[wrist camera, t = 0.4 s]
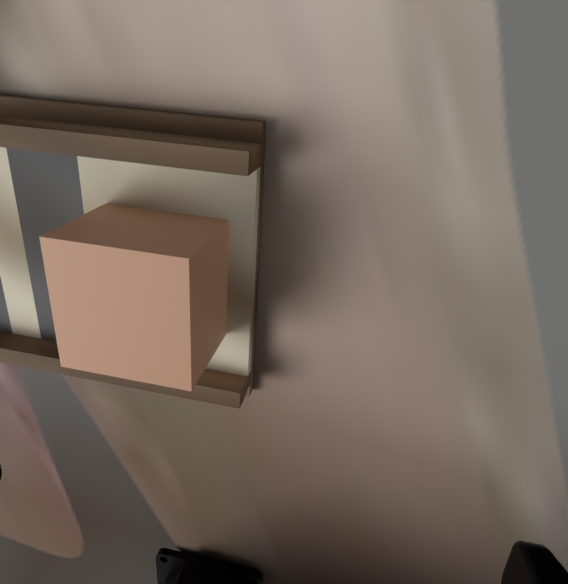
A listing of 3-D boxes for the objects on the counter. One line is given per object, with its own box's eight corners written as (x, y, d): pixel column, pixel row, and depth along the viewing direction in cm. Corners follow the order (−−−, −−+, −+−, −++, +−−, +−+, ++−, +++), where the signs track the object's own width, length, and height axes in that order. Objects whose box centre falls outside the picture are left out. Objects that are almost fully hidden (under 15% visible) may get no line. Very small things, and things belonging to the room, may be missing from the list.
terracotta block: (226, 333, 20) (191, 391, 17) (116, 315, 21) (60, 366, 17) (228, 220, 18) (189, 258, 14) (105, 203, 19) (39, 236, 15)
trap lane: (252, 390, 22) (239, 421, 21) (-144, 316, 26) (-188, 336, 24) (265, 121, 17) (249, 128, 15) (-237, 70, 20) (-303, 72, 18)
